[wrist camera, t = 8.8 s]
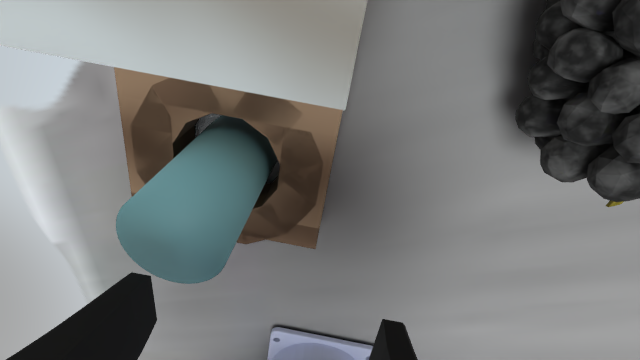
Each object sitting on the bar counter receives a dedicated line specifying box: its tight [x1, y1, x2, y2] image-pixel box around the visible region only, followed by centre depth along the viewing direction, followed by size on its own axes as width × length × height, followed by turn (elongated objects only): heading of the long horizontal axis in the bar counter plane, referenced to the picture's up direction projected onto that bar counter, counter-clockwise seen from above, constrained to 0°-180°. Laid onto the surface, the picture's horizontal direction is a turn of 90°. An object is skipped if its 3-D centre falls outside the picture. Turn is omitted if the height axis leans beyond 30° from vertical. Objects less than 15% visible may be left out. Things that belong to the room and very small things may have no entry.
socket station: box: [0, 0, 367, 249], centre depth 14 cm, size 16×10×9 cm, turn 171°
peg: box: [116, 115, 277, 284], centre depth 16 cm, size 4×4×8 cm
